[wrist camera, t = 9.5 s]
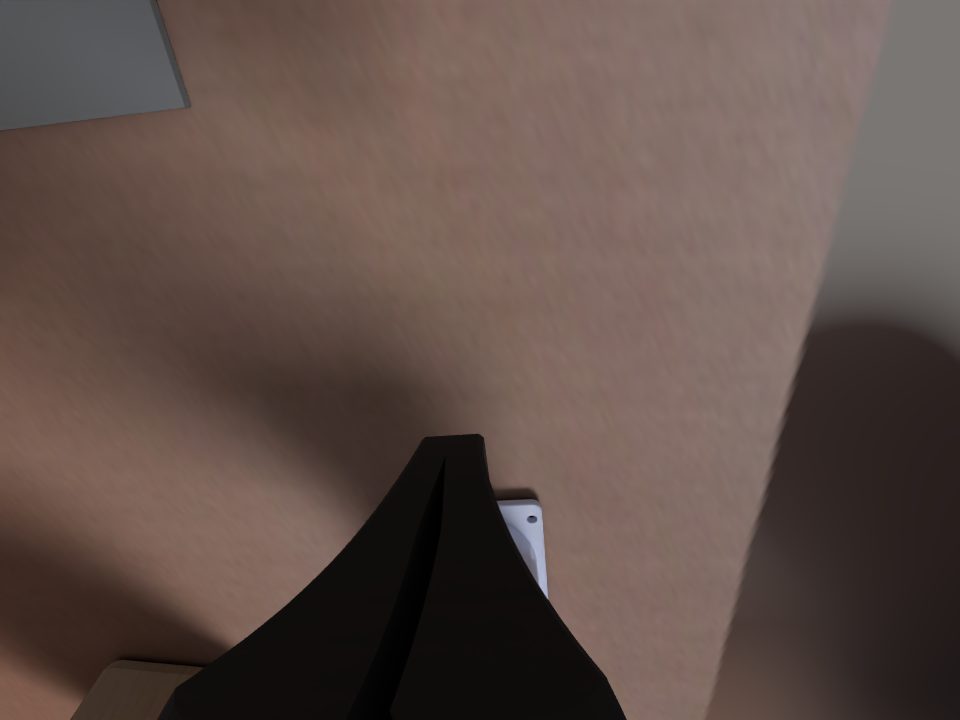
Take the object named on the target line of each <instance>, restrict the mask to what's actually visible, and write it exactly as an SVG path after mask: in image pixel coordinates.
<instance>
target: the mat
mask: <svg viewBox="0 0 960 720" xmlns="http://www.w3.org/2000/svg"><path fill="white" fill-rule="evenodd" d="M187 107H191V105H190V102H189V99H188V96H187V92H186V89H185V86H184V83H183V80H182V77H181V74H180V71H179V68H178V65H177V62H176V59H175V56H174V53H173V50H172V47H171V44H170V41H169V38H168V35H167V32H166V29H165V26H164V23H163V20H162V17H161V14H160V11H159V8H158V5H157V2H156V0H0V131H1V130H9V129H17V128H25V127H33V126H41V125H49V124H57V123H65V122H73V121H82V120H90V119H98V118H106V117H114V116H122V115H130V114H138V113H146V112H154V111H162V110H170V109H178V108H187Z"/></svg>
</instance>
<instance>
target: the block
mask: <svg viewBox="0 0 960 720" xmlns="http://www.w3.org/2000/svg"><path fill="white" fill-rule="evenodd" d="M203 668H204V667H193V666H183V665H172V664H161V663H150V662H140V661H129V660H119V661H115V662H112V663H111V664H110V665H108V666H107V667H106V668H105V669H104V670H103V671H102V673H101V674H100V676H99V677H98V679H97V680H96V682H95V683H94V685H93V686H92V688H91V689H90V691H89V692H88V694H87V695H86V697H85V698H84V700H83V701H82V703H81V704H80V706H79V707H78V709H77V710H76V712H75V713H74V715H73V716H72V718H71V719H70V720H157V719H158V717H159V715H160V713H161V711H162V710H163V708H164V706H165V705H166V703H167V701H168V700H169V698H170V696H171V695H172V693H173V691H174V690H175V688H176V687H177V686H179V685H180V684H182V683H183V682H185V681H186V680H188V679H189V678H191V677H192V676H193V675H195V674H196V673H198V672H199V671H201V670H202V669H203Z"/></svg>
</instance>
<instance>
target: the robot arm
mask: <svg viewBox="0 0 960 720" xmlns="http://www.w3.org/2000/svg"><path fill="white" fill-rule="evenodd" d="M529 516H535V517H532V518H531V517H529ZM157 720H627V719H626V717H625V715H624V713H623V711H622V709H621V706H620V704H619V702H618V700H617V698H616V696H615V694H614V692H613V690H612V688H611V686H610V684H609V682H608V680H607V678H606V676H605V675H604V673H603V672H602V671H601V670H600V669H599V667H598V666H597V665H596V664H595V663H594V661H593V660H592V659H591V658H590V657H589V655H588V654H587V653H586V651H585V650H584V649H583V648H582V646H581V645H580V644H579V643H578V641H577V640H576V639H575V637H574V636H573V635H572V633H571V632H570V631H569V629H568V628H567V626H566V625H565V624H564V622H563V621H562V620H561V618H560V617H559V615H558V614H557V612H556V611H555V609H554V608H553V606H552V605H551V603H550V602H549V600H548V591H547V577H546V563H545V549H544V536H543V522H542V509H541V504H540V503H539V502H538V501H537V500H534V499H524V500H505V501H497V500H496V498H495V495H494V492H493V489H492V486H491V483H490V480H489V473H488V465H487V458H486V450H485V443H484V438H483V437H482V436H481V435H479V434H468V435H451V436H435V437H425V438H424V439H423V440H422V441H421V443H420V445H419V446H418V448H417V450H416V451H415V453H414V454H413V456H412V458H411V459H410V461H409V462H408V464H407V466H406V467H405V469H404V470H403V472H402V473H401V475H400V476H399V478H398V479H397V481H396V482H395V484H394V485H393V486H392V488H391V489H390V491H389V492H388V494H387V495H386V496H385V498H384V499H383V501H382V502H381V503H380V505H379V506H378V507H377V509H376V510H375V511H374V512H373V514H372V515H371V516H370V517H369V519H368V520H367V521H366V523H365V524H364V525H363V526H362V528H361V529H360V530H359V531H358V533H357V534H356V535H355V536H354V537H353V538H352V540H351V541H350V542H349V543H348V544H347V545H346V547H345V548H344V549H343V550H342V551H341V552H340V553H339V554H338V555H337V556H336V557H335V558H334V560H333V561H332V562H331V563H330V564H329V565H328V566H327V567H326V568H325V569H324V570H323V571H322V572H321V573H320V574H319V575H318V576H317V577H316V578H315V579H314V580H313V581H312V582H311V583H310V584H309V585H308V586H307V587H305V588H304V589H303V590H302V591H301V592H300V593H299V594H298V595H297V596H296V597H295V598H294V599H292V600H291V601H290V602H289V603H288V604H287V605H286V606H285V607H283V608H282V609H281V610H280V611H279V612H278V613H276V614H275V615H274V616H273V617H271V618H270V619H269V620H268V621H267V622H265V623H264V624H263V625H262V626H260V627H259V628H258V629H257V630H255V631H254V632H253V633H252V634H250V635H249V636H248V637H246V638H245V639H244V640H243V641H241V642H240V643H239V644H237V645H236V646H235V647H233V648H232V649H230V650H229V651H228V652H226V653H225V654H223V655H222V656H221V657H219V658H218V659H216V660H215V661H213V662H212V663H211V664H209V665H208V666H206V667H205V668H203V669H202V670H201V671H199V672H198V673H196V674H195V675H193V676H192V677H191V678H189V679H188V680H186V681H185V682H183V683H182V684H180V685H179V686H177V687H176V688H175V690H174V691H173V693H172V695H171V696H170V698H169V700H168V701H167V703H166V705H165V706H164V708H163V710H162V711H161V713H160V715H159V717H158V719H157Z"/></svg>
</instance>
